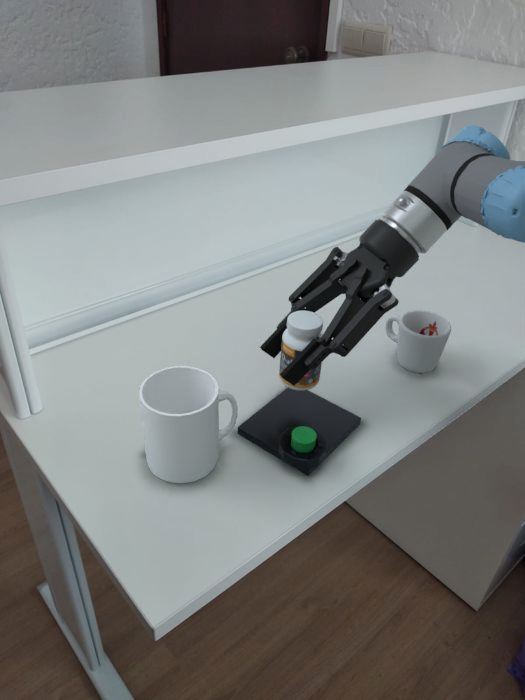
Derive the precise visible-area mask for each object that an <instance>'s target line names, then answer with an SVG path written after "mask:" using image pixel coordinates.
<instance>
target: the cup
mask: <svg viewBox="0 0 525 700" xmlns="http://www.w3.org/2000/svg"><path fill="white" fill-rule="evenodd" d="M394 322H395V323H396V324H397V325H398V333H397V334H396V333H395V332H394V330H393V324H394ZM451 332H452V326H451V323H450V322H449V321H448V319H446V317H444V316H442V315H441V314H438V313H436V312H432V311H428V310H422V309H419V310H418V309H417V310H410V311H407V312H405V313H404V314H402V315H401V314H392V315H390V316H389V317H388V318H387V320H386V321H385V333H386V336H387V337H388V338H389V339H390V340H391V341H393V342H394V343H395V344H396V359H397V362H398V363H399V365H400V366H401V367H402V368H404V369H405V370H407V371H409V372H413V373H417V374H424V373H425V374H426V373H429V372H431V371H433V370H434V369H436V367H437V366H438V365H439V362H440V359H441V357H442V354H443V352H444V350H445V347H446V345H447V343H448V341H449V338H450V335H451Z"/></svg>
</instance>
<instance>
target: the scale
mask: <svg viewBox="0 0 525 700" xmlns="http://www.w3.org/2000/svg"><path fill="white" fill-rule="evenodd" d="M361 422H362V417H361V416H359V415H357V414H355V413H353V412H352V411H349V410H347V409H345V408H343V407H341V406H339V405H337V404H335V403H333V402H331V401H330V400H328V399H326V398H324V397H322V396H320V395H318V394H316V393H314V392H312V391H310V390H304V391H299V390H293V389H290V388H288V387H286V388H285V389H284V390H283V391H281V392H280V393H278V394H277V395H276V396H274V398H272V399H271V400H270V401H268V403H266V404H265V405H264V406H262V407H261V408H260V409H258V410H256V412H254V413H253V414H252V415H250V417H248V418H247V419H246V420H244V421H243V422H242V423H241V424H239V425H238V426H237V435H239V436H241V437H242V438H244V439H246V440H247V441H249V442H251V443H252V444H254V445H255V446H256V447H259V448H261V449H262V450H263V451H265V452H267V453H269V454H270V455H272V456H274V457H276V458H277V459H279V460H280V461H282V462H284V463H285V464H286V465H289V466H290V467H292V468H293V469H295V470H297V471H299V472H300V473H302V474H303V475H305V476H307V477H309V476H310V475H312V474H313V473H314V471H315V470H316V469H317V468H318V467H319V466H320V465H321V464H322V463H323V462H324V461H325V460H327V458H328V457H330V455H331V454H332V453H333V452H334V451H336V450H337V448H338V447H339V446H340V445H341V444H342V443H343V442H344V441H345V440H346V439H347V438H348V437H349V436H350V435H351V434H352V433H354V431H355V430H356V429H357V428H358V427H359V426H360V425H361ZM300 426H306V427H309V428H311V429H313V430H314V431H315V432H316V435H317V437H316V445H315V448H314V450H313V451H311V452H309V453H300V452H297V451H295V450H294V449H293V448H292V446H291V436H292V431H293V430H294V429H295V428H297V427H300Z"/></svg>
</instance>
